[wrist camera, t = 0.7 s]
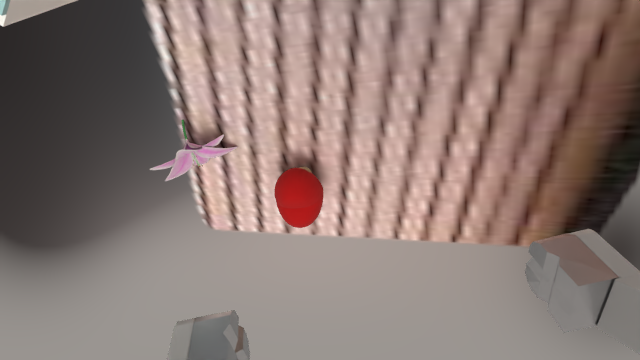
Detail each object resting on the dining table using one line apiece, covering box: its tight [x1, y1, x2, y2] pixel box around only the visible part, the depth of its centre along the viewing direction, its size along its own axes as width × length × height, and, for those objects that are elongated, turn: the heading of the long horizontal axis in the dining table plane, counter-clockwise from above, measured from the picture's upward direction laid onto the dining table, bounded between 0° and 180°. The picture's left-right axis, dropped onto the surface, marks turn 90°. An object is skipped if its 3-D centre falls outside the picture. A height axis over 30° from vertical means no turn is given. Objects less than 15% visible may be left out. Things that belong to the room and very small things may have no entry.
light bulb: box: [275, 167, 323, 228], centre depth 57 cm, size 9×7×10 cm
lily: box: [150, 120, 237, 181], centre depth 56 cm, size 12×12×10 cm
